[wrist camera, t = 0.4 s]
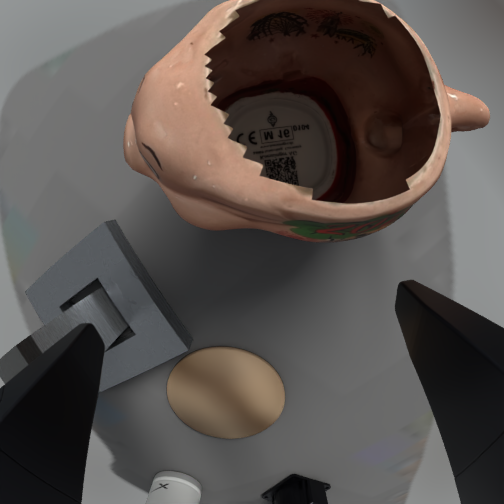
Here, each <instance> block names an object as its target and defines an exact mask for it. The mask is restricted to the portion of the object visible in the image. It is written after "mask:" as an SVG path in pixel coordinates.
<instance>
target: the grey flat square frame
mask: <svg viewBox="0 0 504 504" xmlns="http://www.w3.org/2000/svg"><path fill="white" fill-rule="evenodd" d="M97 279H99V281H100V282H101V284H102V285H103V287H104V289H105V290H106V292H107V293H108V295H109V296H110V298H111V299H112V301H113V303H114V304H115V306H116V307H117V309H118V310H119V311H120V313H121V314H122V316H123V317H124V319H125V320H126V322H127V323H128V324H129V326H130V327H131V329H132V330H133V332H131V333H129V334H128V335H126V336H124V337H122V338H121V339H119V340H117V341H115V342H114V343H112V344H111V345H110V346H109V347H108V349H107V350H106V351H105V352H104V358H103V365H102V373H101V380H100V388H99V392H101V391H104V390H106V389H108V388H110V387H113V386H115V385H117V384H119V383H121V382H124V381H126V380H128V379H130V378H132V377H134V376H137V375H139V374H141V373H143V372H145V371H147V370H149V369H151V368H153V367H156V366H158V365H160V364H162V363H164V362H166V361H168V360H170V359H172V358H174V357H176V356H178V355H180V354H182V353H184V352H186V351H188V350H189V348H190V345H191V343H192V341H193V338H192V337H191V336H190V334H189V333H188V332H187V330H186V329H185V327H184V326H183V325H182V323H181V322H180V320H179V319H178V318H177V316H176V315H175V313H174V312H173V310H172V309H171V307H170V306H169V305H168V303H167V302H166V300H165V299H164V297H163V296H162V294H161V293H160V291H159V290H158V288H157V287H156V285H155V284H154V282H153V281H152V279H151V277H150V276H149V274H148V273H147V271H146V270H145V268H144V267H143V265H142V263H141V262H140V260H139V259H138V257H137V255H136V254H135V252H134V250H133V249H132V247H131V246H130V244H129V242H128V241H127V239H126V237H125V236H124V234H123V232H122V230H121V229H120V227H119V225H118V224H117V222H116V220H111V221H106V222H104V223H102V224H101V225H100V226H99V227H97V228H96V229H95V230H94V231H92V232H91V233H90V234H89V235H88V236H86V237H85V238H84V239H83V240H82V241H80V242H79V243H78V244H77V245H76V246H74V247H73V248H72V249H71V250H70V251H69V252H68V253H66V254H65V255H64V256H63V257H62V258H61V259H60V260H58V261H57V262H56V263H55V264H54V265H53V266H52V267H51V268H50V269H48V270H47V271H46V272H45V273H44V274H43V275H42V276H41V277H40V278H39V279H38V280H37V281H36V282H35V283H34V284H33V285H31V286H30V287H29V288H28V289H27V290H26V291H25V293H26V295H27V297H28V299H29V300H30V302H31V304H32V305H33V307H34V309H35V311H36V312H37V314H38V316H39V317H40V319H41V320H42V322H43V324H44V325H45V324H47V323H48V322H50V321H51V320H53V319H54V318H56V317H57V316H59V315H60V314H62V313H63V312H64V311H66V310H67V309H69V308H70V307H72V306H73V304H72V302H71V301H70V299H72V298H73V297H74V296H76V295H77V294H78V293H80V292H81V291H82V290H84V289H85V288H86V287H88V286H89V285H90V284H92V283H93V282H94V281H96V280H97Z"/></svg>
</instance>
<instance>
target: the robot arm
mask: <svg viewBox="0 0 504 504" xmlns="http://www.w3.org/2000/svg"><path fill="white" fill-rule="evenodd" d="M395 311H396V315H397V318H398V321H399V324H400V327H401V330H402V333H403V336H404V339H405V342H406V345H407V349H408V352H409V355H410V357H411V360H412V362H413V365H414V367H415V369H416V372H417V374H418V377H419V379H420V381H421V384H422V386H423V389H424V391H425V394H426V396H427V399H428V401H429V404H430V407H431V409H432V412H433V415H434V417H435V420H436V423H437V426H438V428H439V431H440V434H441V437H442V440H443V443H444V446H445V449H446V452H447V455H448V458H449V461H450V465H451V468H452V471H453V475H454V477H455V482H456V486H457V490H458V493H459V497H460V501H461V504H504V328H503V327H501V326H499V325H497V324H495V323H494V322H492V321H490V320H488V319H487V318H485V317H483V316H481V315H479V314H477V313H475V312H474V311H472V310H470V309H468V308H466V307H464V306H463V305H461V304H459V303H457V302H455V301H453V300H451V299H449V298H447V297H446V296H444V295H442V294H440V293H438V292H436V291H434V290H432V289H430V288H428V287H426V286H424V285H422V284H420V283H418V282H416V281H414V280H407V281H402V282H400V283H399V284H398V288H397V295H396V302H395ZM104 352H105V345H104V342H103V340H102V338H101V336H100V335H99V333H98V331H97V329H96V328H95V326H94V325H93V324H92V323H81V324H79V325H78V326H76V327H75V328H74V329H73V330H71V331H70V332H69V333H67V334H66V335H65V336H64V337H62V338H61V339H60V340H59V341H57V342H56V343H55V344H53V345H52V346H51V347H50V348H48V349H47V350H46V351H45V352H43V353H42V354H41V355H40V356H38V357H37V358H36V359H35V360H34V361H32V362H31V363H30V364H29V365H27V366H26V367H25V368H24V369H23V370H21V371H20V372H19V373H18V374H17V375H15V376H14V377H13V378H12V379H11V380H9V381H8V382H7V383H6V384H5V385H4V386H2V387H1V388H0V504H81V502H82V492H83V483H84V474H85V467H86V459H87V453H88V446H89V439H90V434H91V429H92V423H93V418H94V413H95V408H96V403H97V398H98V393H99V388H100V380H101V373H102V365H103V358H104ZM330 488H331V486H330V484H327V483H323V482H320V481H316V480H313V479H309V478H306V477H303V476H300V475H297V474H292V475H290V476H289V477H287V478H286V479H285V480H283V481H282V482H280V483H279V484H277V485H276V486H274V487H273V488H271V489H270V490H268V491H267V492H265V493H264V494H263V495H262V498H263V499H267V500H270V501H272V504H328V502H327V497H326V492H325V491H327V490H328V489H330Z"/></svg>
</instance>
